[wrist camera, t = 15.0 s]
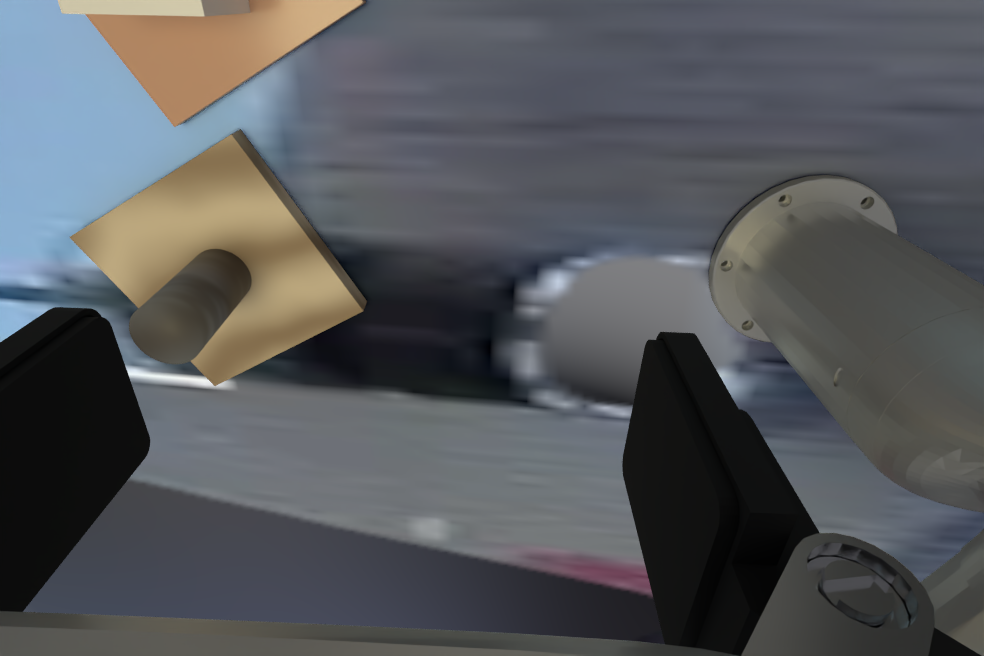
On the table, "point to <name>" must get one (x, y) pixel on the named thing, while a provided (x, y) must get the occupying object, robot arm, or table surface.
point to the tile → (212, 48)
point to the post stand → (220, 264)
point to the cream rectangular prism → (155, 7)
